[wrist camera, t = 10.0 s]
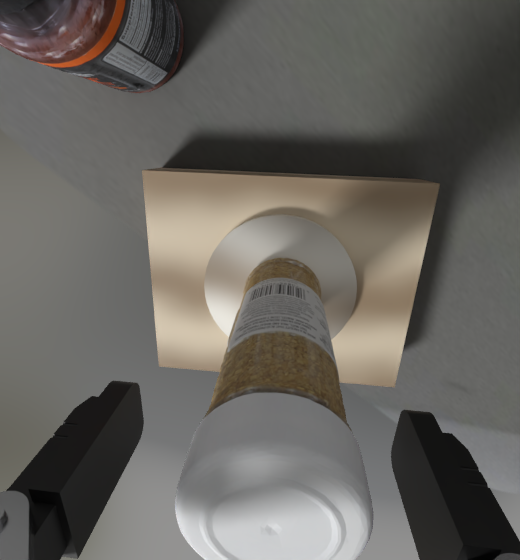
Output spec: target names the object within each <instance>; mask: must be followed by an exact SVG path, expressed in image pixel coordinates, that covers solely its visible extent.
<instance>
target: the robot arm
mask: <svg viewBox="0 0 520 560" xmlns="http://www.w3.org/2000/svg"><path fill="white" fill-rule="evenodd" d="M143 424H144V420H143V411H142V404H141V395H140V388H139V385H138V384H137V383H133V382H122V381H112V382H110V383H109V385H108V386H107V387H106V388H105V390H104V391H103V392H102V393H101V395H100V396H99V397H95V396H92V397H90V398H89V399H87V400H86V401H85V402H83V403H82V404H80V405H79V406H77V407H76V408H75V409H74V410H73V411H72V413H71V414H70V415H69V416H68V417H67V419H66V420H65V421H64V422H63V425H61V426H60V427H59V428H58V429H57V431H56V432H55V433H54V434H53V438H50V439H49V440H48V442H47V443H46V444H45V445H44V446H43V448H42V449H41V450H40V451H39V453H38V454H37V455H36V456H35V457H34V458H33V460H32V461H31V462H30V463H29V465H28V466H27V467H26V468H25V469H24V471H23V472H22V473H21V474H20V476H19V477H18V478H17V479H16V480H15V481H14V483H13V484H12V485H11V486H10V487H9V488H8V489H7V491H4V492H0V560H60V559H61V557H70V558H77V559H78V558H79V556H80V554H81V552H82V550H83V548H84V546H85V544H86V542H87V540H88V539H89V537H90V535H91V533H92V531H93V529H94V527H95V525H96V523H97V521H98V519H99V517H100V515H101V514H102V512H103V510H104V508H105V506H106V504H107V502H108V500H109V498H110V496H111V494H112V492H113V490H114V488H115V487H116V485H117V483H118V481H119V479H120V477H121V475H122V473H123V471H124V469H125V467H126V466H127V464H128V462H129V460H130V458H131V456H132V454H133V452H134V450H135V448H136V446H137V444H138V442H139V440H140V438H141V435H142V431H143ZM391 461H392V468H393V472H394V475H395V479H396V482H397V485H398V489H399V492H400V495H401V499H402V502H403V505H404V508H405V512H406V515H407V519H408V522H409V525H410V529H411V532H412V535H413V538H414V542H415V545H416V549H417V552H418V555H419V559H420V560H520V541H519V539H518V538H517V536H516V534H515V532H514V531H513V529H512V527H511V525H510V523H509V522H508V520H507V518H506V516H505V514H504V513H503V511H502V509H501V507H500V506H499V504H498V502H497V500H496V498H495V497H494V495H493V493H492V491H491V490H490V488H488V487H487V483H486V481H485V479H484V477H483V475H482V474H481V472H479V470H478V469H479V468H478V467H477V465H476V463H475V461H474V460H473V458H472V456H471V454H470V452H469V451H468V449H467V448H466V447H465V446H464V445H463V444H462V443H461V442H460V441H459V440H458V439H457V438H456V437H455V436H454V435H453V434H450V433H442V431H441V429H440V427H439V425H438V423H437V421H436V419H435V417H434V416H433V414H432V413H430V412H421V411H411V410H403V411H402V412H401V414H400V418H399V421H398V425H397V429H396V433H395V437H394V441H393V445H392V451H391Z"/></svg>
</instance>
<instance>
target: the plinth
mask: <svg viewBox="0 0 520 560" xmlns="http://www.w3.org/2000/svg"><path fill="white" fill-rule="evenodd" d="M142 174H143V186H144V198H145V209H146V221H147V232H148V244H149V256H150V267H151V277H152V290H153V302H154V313H155V325H156V337H157V348H158V359H159V366H160V367H172V368H184V369H195V370H206V371H217V372H220V369H221V365H222V363H223V359H224V355H225V352H226V349H227V342H228V339H229V335H230V332H231V329H232V326H233V323H234V320H235V317H236V314H237V311H238V310H239V308H240V306H241V302H242V299H243V296H244V293H243V292H244V288H245V282H246V280H247V278H248V276H249V275H250V273H251V272H252V271H253V270H254V268H256V267H257V266H259V265H260V264H262V263H263V262H265V261H267V260H271V259H274V258H290V259H294V260H298V261H300V262H302V263H303V264H305V265H306V266H308V267H309V268H310V269H311V270H312V271H313V272H314V274H315V275H316V277H317V279H318V280H319V283H320V287H321V301H322V304H323V306H324V310H325V314H326V319H327V323H328V327H329V332H330V337H331V342H332V346H333V351H334V356H335V360H336V364H337V368H338V374H339V382H342V383H353V384H364V385H376V386H387V387H395V383H396V378H397V374H398V369H399V365H400V360H401V356H402V352H403V347H404V343H405V338H406V334H407V329H408V325H409V320H410V316H411V311H412V307H413V302H414V298H415V293H416V289H417V285H418V280H419V276H420V271H421V267H422V262H423V258H424V253H425V249H426V244H427V240H428V235H429V231H430V226H431V222H432V218H433V213H434V209H435V204H436V200H437V195H438V191H439V186H440V184H439V183H434V182H430V181H426V180H421V179H405V178H382V177H360V176H338V175H315V174H293V173H270V172H248V171H226V170H203V169H181V168H155V169H148V170H142Z"/></svg>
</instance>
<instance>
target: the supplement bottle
mask: <svg viewBox="0 0 520 560" xmlns="http://www.w3.org/2000/svg"><path fill="white" fill-rule="evenodd" d="M183 44H184V32H183V23H182V18H181V15H180V12H179V9H178V6H177V4H176V2H175V0H0V45H1V46H3V47H5V48H7V49H8V50H10V51H12V52H14V53H15V54H17V55H20V56H22V57H24V58H26V59H29V60H32V61H35V62H38V63H42V64H44V65H46V66H49V67H52V68H55V69H59V70H61V71H64V72H67V73H70V74H73V75H76V76H80V77H83V78H86V79H89V80H92V81H95V82H97V83H100V84H103V85H106V86H109V87H112V88H114V89H118V90H121V91H127V92H132V93H143V92H150V91H153V90H155V89H157V88H159V87H160V86H162V85H163V84H164V83H165V82H167V81H168V80H169V79H170V77H171V76H172V75H173V74H174V72H175V71H176V68H177V67H178V65H179V62H180V59H181V56H182V51H183Z"/></svg>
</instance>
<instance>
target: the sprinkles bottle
mask: <svg viewBox="0 0 520 560" xmlns="http://www.w3.org/2000/svg"><path fill="white" fill-rule="evenodd" d="M243 293H244V296H243V299H242V302H241V306H240V308H239V310H238V311H237V314H236V317H235V320H234V323H233V326H232V329H231V332H230V335H229V339H228V342H227V349H226V352H225V355H224V359H223V363H222V365H221V369H220V374H219V377H218V379H217V382H216V386H215V389H214V394H213V397H212V402H211V405H210V407H209V410H208V412H207V413H206V415H205V417H204V418H203V420H202V422H201V423H200V424H199V426H198V428H197V430H196V432H195V434H194V436H193V438H192V441H191V444H190V447H189V451H188V453H187V457H186V460H185V463H184V466H183V470H182V473H181V477H180V480H179V483H178V487H177V492H176V498H175V511H176V518H177V522H178V525H179V527H180V530H181V532H182V534H183V536H184V537H185V539H186V540H187V542H188V543H189V544H190V546H191V547H192V548H193V549H194V550H195V551H196V552H197V553H198V554H199V555H200V556H201V557H202V558H204V559H205V560H356V558H357V557H358V556H359V555H360V554H361V553H362V551H363V550H364V548H365V546H366V544H367V543H368V541H369V539H370V535H371V532H372V527H373V508H372V501H371V497H370V492H369V487H368V482H367V477H366V473H365V468H364V464H363V460H362V456H361V452H360V448H359V445H358V443H357V440H356V438H355V437H354V435H353V433H352V431H351V429H350V427H349V425H348V424H347V421H346V415H345V409H344V405H343V401H342V394H341V390H340V386H339V384H340V382H339V374H338V368H337V364H336V360H335V356H334V351H333V346H332V342H331V337H330V332H329V327H328V323H327V319H326V314H325V310H324V306H323V304H322V301H321V287H320V283H319V280H318V279H317V277H316V275H315V274H314V272H313V271H312V270H311V269H310V268H309V267H308V266H306V265H305V264H303V263H302V262H300V261H298V260H294V259H290V258H274V259H271V260H267V261H265V262H263V263H262V264H260V265H259V266H257V267H256V268H254V270H253V271H252V272H251V273H250V275H249V276H248V278H247V280H246V282H245V288H244V292H243Z"/></svg>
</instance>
